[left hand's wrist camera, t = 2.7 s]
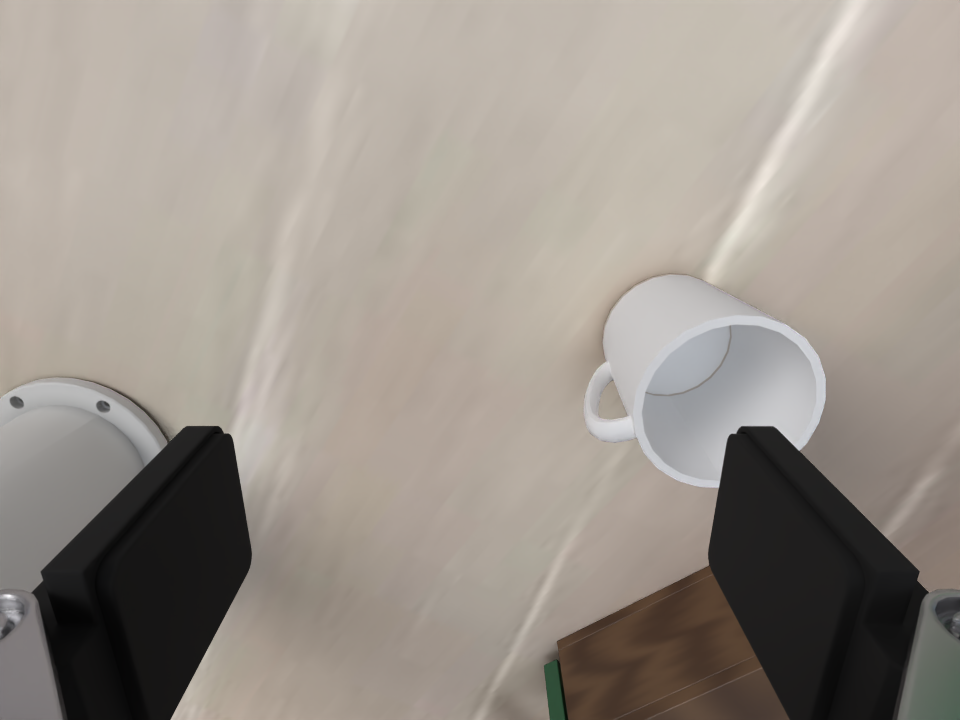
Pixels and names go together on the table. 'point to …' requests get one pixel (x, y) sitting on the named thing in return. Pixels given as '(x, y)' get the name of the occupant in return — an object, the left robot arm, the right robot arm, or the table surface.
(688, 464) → the mug
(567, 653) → the cabinet
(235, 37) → the table surface
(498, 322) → the table surface
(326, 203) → the table surface
